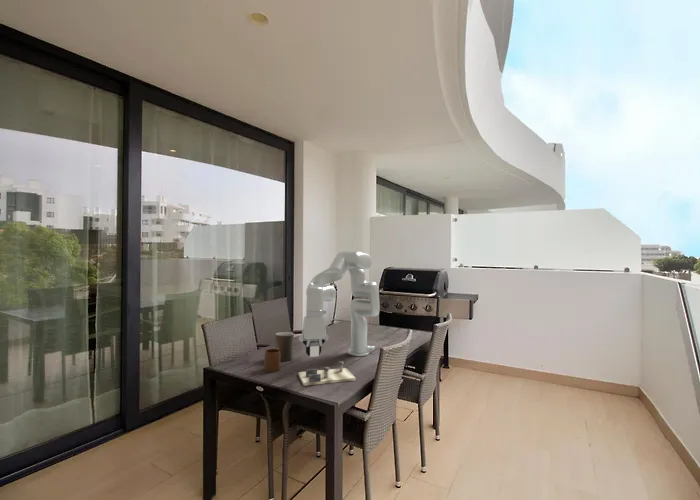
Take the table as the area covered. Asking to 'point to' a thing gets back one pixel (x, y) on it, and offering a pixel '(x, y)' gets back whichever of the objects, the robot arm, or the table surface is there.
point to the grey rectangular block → (314, 348)
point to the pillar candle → (285, 345)
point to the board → (331, 377)
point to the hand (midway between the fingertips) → (313, 354)
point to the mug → (272, 360)
